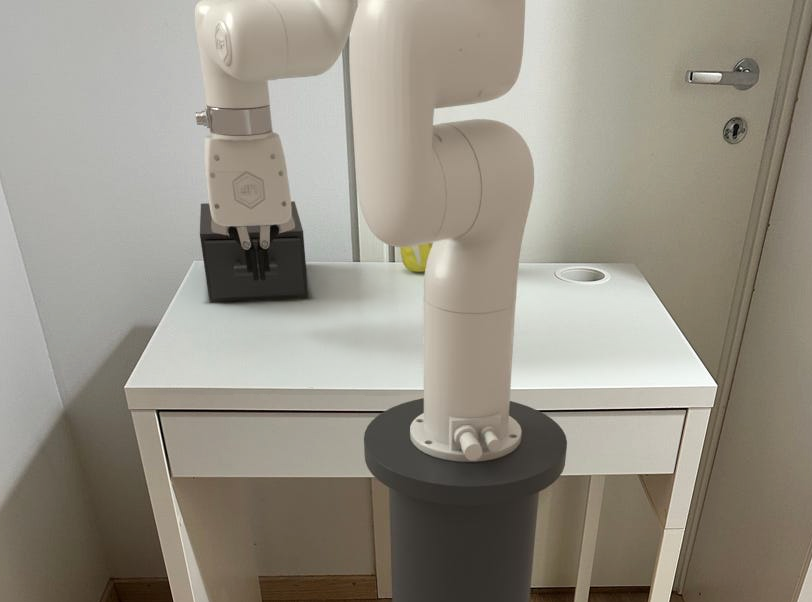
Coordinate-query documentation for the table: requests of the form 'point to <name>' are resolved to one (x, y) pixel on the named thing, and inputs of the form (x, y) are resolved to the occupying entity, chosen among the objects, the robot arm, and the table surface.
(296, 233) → the grey filing cabinet
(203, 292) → the table surface
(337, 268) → the table surface
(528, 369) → the table surface
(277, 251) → the drawer
